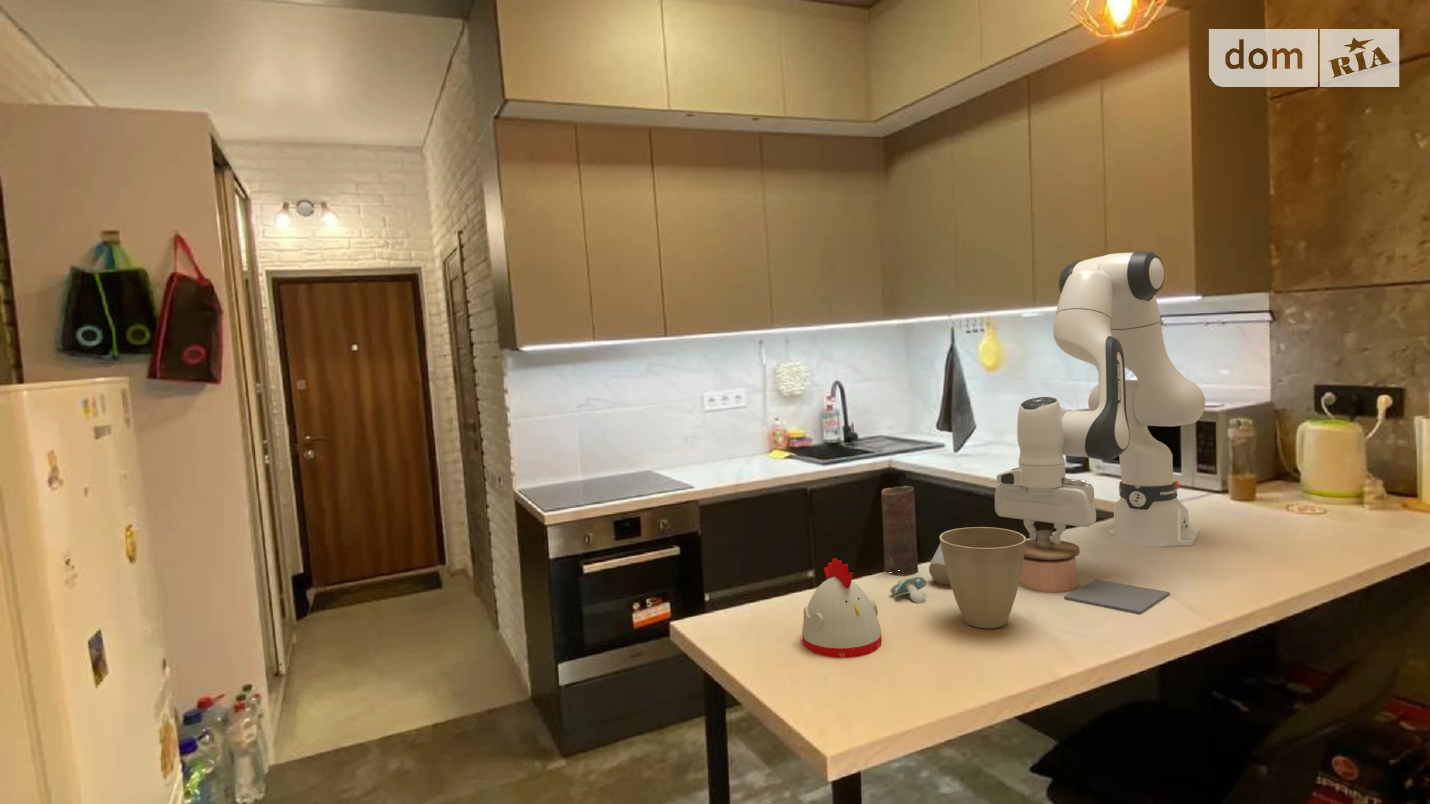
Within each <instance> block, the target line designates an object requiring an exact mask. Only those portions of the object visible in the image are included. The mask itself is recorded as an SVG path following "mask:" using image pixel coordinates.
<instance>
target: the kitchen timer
mask: <svg viewBox="0 0 1430 804" xmlns="http://www.w3.org/2000/svg"><path fill="white" fill-rule="evenodd" d="M848 565H849V564H848V563H844V564H843V562H842V559H840V560H838V558H836V557H835V558H832V559H831V562H828V563H827V567H826V566H825V567H823V571H824V575H825V578H826V579H825V580H824V581H823V582H822V583H821V584H820V585H819V586H818V587H817V588H816V590H815V591H814V592H813V594H812V596H811V597H810V600H809V602H808V605H807V607H806V606H805V607H803V624H802V631H801V636H802V642H803V646H804V647H805V648H806V649H807V650H809V651H811V652H812V653H815V654H818V655H821V656H824V657H830V658H839V659H840V658H845V659H846V658H847V659H849V658H850V659H851V658H856V657H857V658H858V657H862V656H863V657H864V656H866V655H869V654H872V653H873V652H874V653H875V652H876V651H877V650H878V649H880V648H881V646H882V642H883V641H882V640H883V639H882V630H881V629H882V628H881V626H880V621H879V618H878V613H879V611H878V606H877V602H876V601H875V600H874V599H869V597H868V596H867V593H865V591H864V590H863V589H862V588H861V587H860V585H858V584H857V583H855V582H854V581H853V574H854V572H849V566H848Z"/></svg>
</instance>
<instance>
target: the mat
mask: <svg viewBox="0 0 1430 804" xmlns="http://www.w3.org/2000/svg"><path fill="white" fill-rule="evenodd" d="M1170 595H1171V593H1170V591H1166V590H1159V589H1153V588H1148V587H1143V586H1138V585H1132V584H1125V583H1120V582H1115V581H1114V582H1113V581H1110V580H1109V581H1108V580H1104V579H1099V578H1098V579H1093V580H1092V581H1090V582H1088V583H1086V584H1084V585H1082V586H1080V587H1079V588H1077V589H1075V590H1073V591H1072V592H1069V593H1068V594H1065V595H1064V596H1063V599H1064V600H1067V601H1072V602H1078V603H1082V604H1087V605H1092V606H1095V607H1096V606H1098V607H1103V608H1108V609H1112V610H1116V611H1117V610H1118V611H1122V612H1127V613H1132V614H1136V615H1137V614H1138V615H1142V614H1143V613H1145V612H1146V611H1147V610H1149V609H1151V608H1152V607H1154V606H1155V605H1156V604H1158V603H1159V602H1161V601H1163V600H1164V599H1166V598H1167V597H1169V596H1170Z"/></svg>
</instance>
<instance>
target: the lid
mask: <svg viewBox="0 0 1430 804" xmlns="http://www.w3.org/2000/svg"><path fill="white" fill-rule="evenodd" d="M1036 532H1037V542H1036V541H1030V539H1026V542H1025V550H1024V557H1027V558H1033V559H1046V560H1056V559H1067V558H1072V557H1075V558H1076V557H1077V556H1079V555H1080V554H1081V553H1080V551H1081V547H1080V546H1079V545H1077V544H1075V543H1072V542H1069V541H1064V540H1061V542H1060V544H1058V545H1055V544H1050V535H1052V534H1053V531H1051V530H1047V529H1041V530H1036Z"/></svg>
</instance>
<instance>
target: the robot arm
mask: <svg viewBox="0 0 1430 804" xmlns="http://www.w3.org/2000/svg"><path fill="white" fill-rule="evenodd" d="M1165 273H1166V272H1165V266H1164V263H1163V261H1162V259H1161V258H1160V256H1159V255H1158V254H1156V253H1155V252H1153V251H1149V250H1136V251H1134V252H1118V253H1109V254H1106V255H1102V256H1101V255H1100V256H1096V257H1092V258H1089V259H1080V260H1079V259H1078V260H1077V261H1073V262H1071V263H1068V264H1066V265H1065V267H1064V268H1063V269H1062V271H1061V272H1060V274H1059V277H1058V289H1059V293H1060V296H1059V299H1058V303H1057V307H1056V313H1055V317H1054V323H1053V330H1052V331H1053V332H1052V333H1053V340H1054V341H1055V344H1056V345H1057V346H1058V347H1059V348H1060V350H1061V351H1063V352H1064V353H1066V354H1068V355H1069V356H1070V357H1073V358H1075V359H1078V360H1080V361H1083V362H1085V363H1088V364H1091V365H1093V366H1095V368H1096V370H1097V374H1098V384H1096V385H1095V386H1094V387H1093V388H1092V390H1091V391H1090V394H1089V396H1088V401H1087V402H1088V410H1072V409H1071V410H1070V409H1066V408H1063V407H1061V405H1060V402H1059V400H1058V398H1056V397H1050V396H1040V397H1039V396H1038V397H1033V398H1029V399H1027V400H1025V401H1023V402H1022V403H1020V406H1019V408H1018V412H1017V413H1018V414H1017V427H1016V428H1017V429H1016V431H1017V434H1016V435H1017V436H1016V439H1017V445H1018V446H1019V457H1018V467H1015V468H1011V470H1007V471H1003V472H1000V473H998V474H997V475H996V482H997V484H998V485H997V486H996V488H995V492H994V509H995V510H994V511H995V513H996V514H997V516H999V517H1002V518H1010V519H1018V520H1023V526H1024V527H1025V529H1026V530H1027V532H1028V533H1029V540H1030V541H1036V542H1037V529H1036V527H1035V525H1034V524H1035V523H1036V522H1041V523H1042V522H1044V523H1049V524H1053V528H1054V529H1056V530H1055V532H1054V533H1052V535H1050V544H1055V545H1058V544H1060V542H1061V541H1062V539H1061V535H1062V534H1063V532H1064V531H1065V529H1066V526H1073V527H1074V526H1075V527H1080V528H1087V527H1091V526H1092V525H1094V524H1095V523H1096V521H1097V512H1096V505H1095V502H1094V499H1095V489H1094V486H1093V485H1092V484H1091V483H1089V482H1087V480H1084V479H1074V478H1067V477H1066V461H1065V457H1064V456H1068V457H1080V458H1081V457H1082V458H1090V459H1095V460H1100V461H1101V460H1102V461H1105V462H1106V461H1107V462H1110V461H1113V460H1115V459H1116V458H1117V457H1119V466H1120V481H1119V486H1118V491H1119V492H1118V493H1119V500H1118V501H1116V502H1115V503H1114V507H1113V529H1110V530H1108V533H1109V534H1111V535H1113V536H1114V537H1116V538H1117V539H1118V540H1119V539H1120V541H1122V542H1124V543H1127V544H1132V545H1134V546H1135V545H1136V546H1142V547H1151V548H1152V547H1163V548H1165V547H1174V546H1175V547H1179V546H1186V547H1187V546H1193V545H1194V543H1195V542H1196V540H1197V538H1198V537H1199V535H1200V533H1201V529H1200V528H1199V527H1197V526H1196V527H1195V526H1191V525H1190V519H1189V511H1188V508H1186V506H1185V505H1184V504H1182V502H1181V501H1180V500H1179V499H1178V496H1179V495H1178V489H1180V482H1179V481H1178V480H1174V466H1173V465H1174V464H1173V463H1174V462H1173V452H1172V451H1171V449H1170V448H1169V447H1168V446H1167V444H1165V443H1163V442H1162V441H1159V440H1157V439H1156V438H1155V437H1154V436H1153V435H1152V434H1151V432H1150V430H1149V429H1148V426H1150V427H1152V426H1153V427H1178V426H1185V425H1190V424H1191V425H1192V424H1195V423H1196V422H1198V421H1199V419H1201V417H1202V415H1203V413H1204V411H1205V408H1206V397H1205V395H1204V392H1203V390H1202V389H1201V388H1200V386H1198V385H1197V383H1194V382H1192V381H1191V380H1189V379H1188V378H1187V377H1185V376H1184V375H1183V374H1182V373H1181V372H1180V371H1179V370H1178V369H1177V368H1176V367H1175V366H1174V364H1173V363H1172V361H1171V358H1170V357H1169V355H1168V353H1167V349H1166V345H1165V341H1164V335H1163V330H1162V329H1163V328H1162V321H1161V314H1160V310H1159V304H1158V301H1157V297H1156V295H1158V293H1159V292H1160V291H1161V289H1162V287H1163V285H1164V283H1165V275H1166V274H1165ZM1126 369H1127V370H1129V371H1130V372H1131V373H1132V374H1133V375H1134V376H1135V378H1136V379H1137V380H1136V379H1126Z"/></svg>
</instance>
